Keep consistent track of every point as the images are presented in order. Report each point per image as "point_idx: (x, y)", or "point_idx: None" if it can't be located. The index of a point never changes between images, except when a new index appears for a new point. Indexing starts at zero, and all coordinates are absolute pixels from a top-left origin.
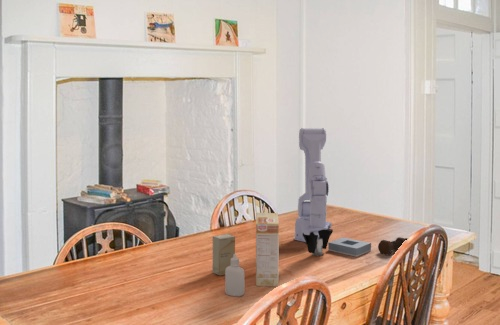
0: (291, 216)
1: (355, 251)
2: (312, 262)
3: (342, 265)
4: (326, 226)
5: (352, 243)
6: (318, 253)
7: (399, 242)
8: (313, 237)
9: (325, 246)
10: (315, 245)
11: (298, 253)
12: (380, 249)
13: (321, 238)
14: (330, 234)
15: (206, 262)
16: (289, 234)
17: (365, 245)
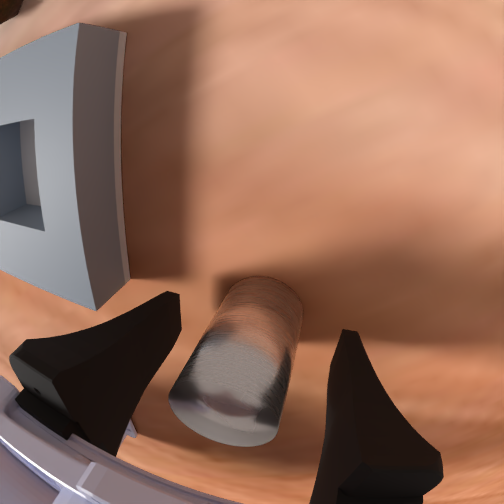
0: None
1: (98, 38)
2: (475, 266)
3: (427, 11)
4: (89, 499)
5: (1, 176)
6: (291, 305)
7: None
8: (442, 464)
9: (168, 305)
10: (350, 374)
11: (310, 402)
12: (2, 11)
13: (197, 391)
14: (63, 341)
15: (501, 488)
16: None
17: (1, 58)
